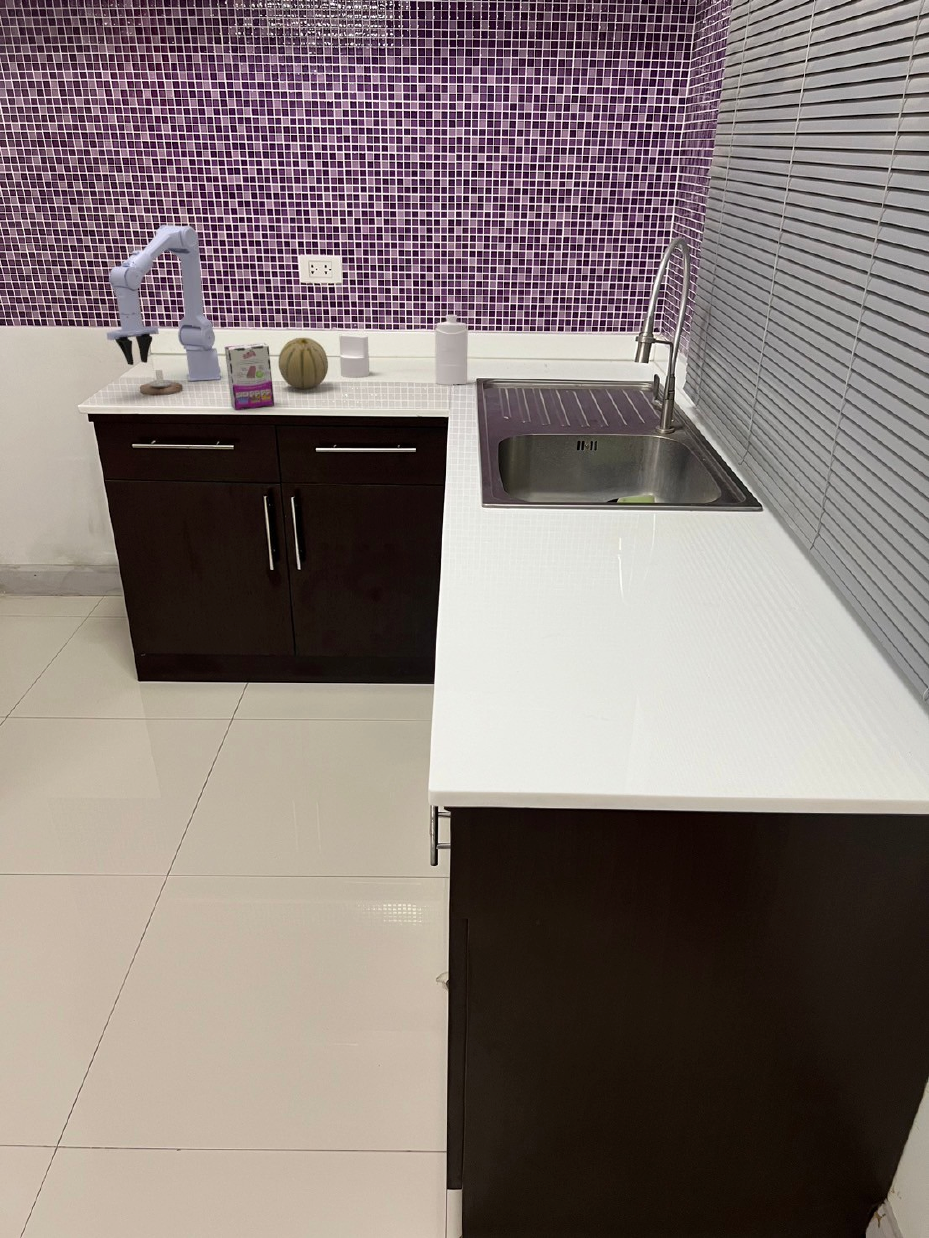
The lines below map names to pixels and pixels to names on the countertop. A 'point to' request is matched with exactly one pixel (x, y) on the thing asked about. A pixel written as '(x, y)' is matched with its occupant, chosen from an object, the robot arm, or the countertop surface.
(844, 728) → the countertop surface
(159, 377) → the dial
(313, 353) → the cantaloupe
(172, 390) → the base
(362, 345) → the cylinder with rectangular tab
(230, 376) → the candy bar box
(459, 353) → the squeeze bottle
